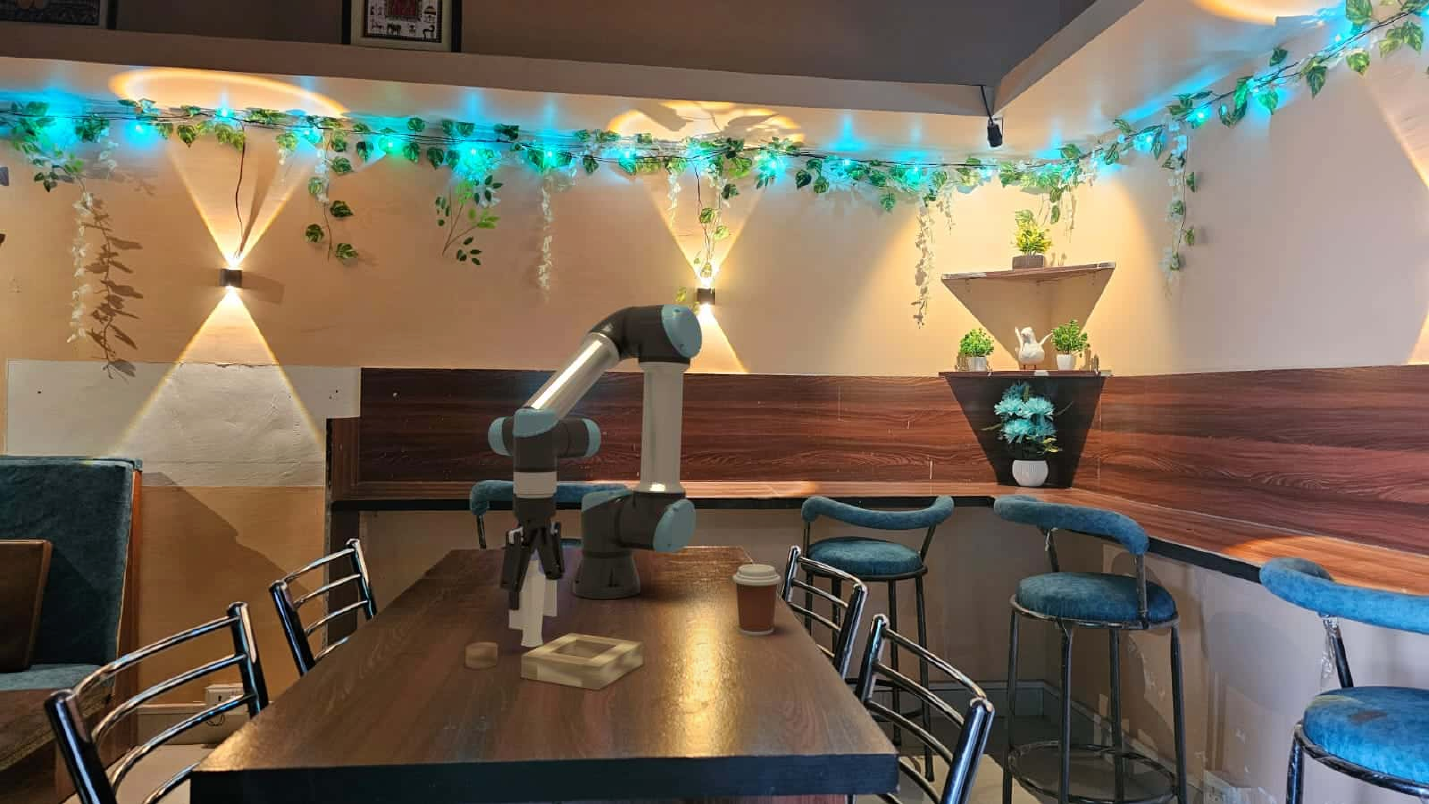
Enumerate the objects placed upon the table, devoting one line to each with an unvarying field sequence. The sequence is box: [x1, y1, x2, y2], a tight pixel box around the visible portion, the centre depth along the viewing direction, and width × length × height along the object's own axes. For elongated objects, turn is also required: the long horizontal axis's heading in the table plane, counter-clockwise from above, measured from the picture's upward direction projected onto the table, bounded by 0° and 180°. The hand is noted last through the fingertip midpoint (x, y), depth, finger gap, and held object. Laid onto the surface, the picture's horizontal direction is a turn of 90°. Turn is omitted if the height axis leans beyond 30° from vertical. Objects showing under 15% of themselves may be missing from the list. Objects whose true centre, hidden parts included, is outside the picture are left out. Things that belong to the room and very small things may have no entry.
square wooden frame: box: [520, 632, 644, 691], centre depth 136 cm, size 14×14×4 cm
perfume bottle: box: [520, 558, 547, 648], centre depth 150 cm, size 5×4×15 cm
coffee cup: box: [732, 563, 782, 636], centre depth 160 cm, size 9×9×12 cm
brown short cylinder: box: [465, 641, 499, 670], centre depth 139 cm, size 5×5×3 cm
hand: (533, 621), depth 150 cm, fingers open, 9 cm apart
